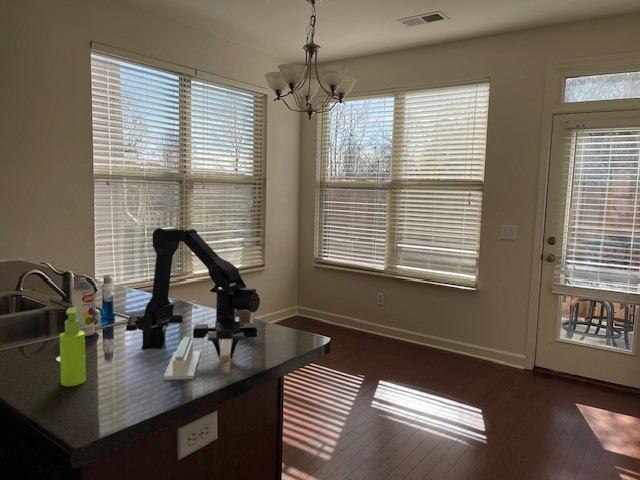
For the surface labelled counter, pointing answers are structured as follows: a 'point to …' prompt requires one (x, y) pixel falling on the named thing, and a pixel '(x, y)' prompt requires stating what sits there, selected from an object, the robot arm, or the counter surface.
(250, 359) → the counter surface
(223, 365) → the birch bar
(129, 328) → the door handle
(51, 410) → the counter surface
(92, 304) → the aerosol can
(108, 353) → the counter surface
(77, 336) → the soap dispenser
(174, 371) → the ridge stand
